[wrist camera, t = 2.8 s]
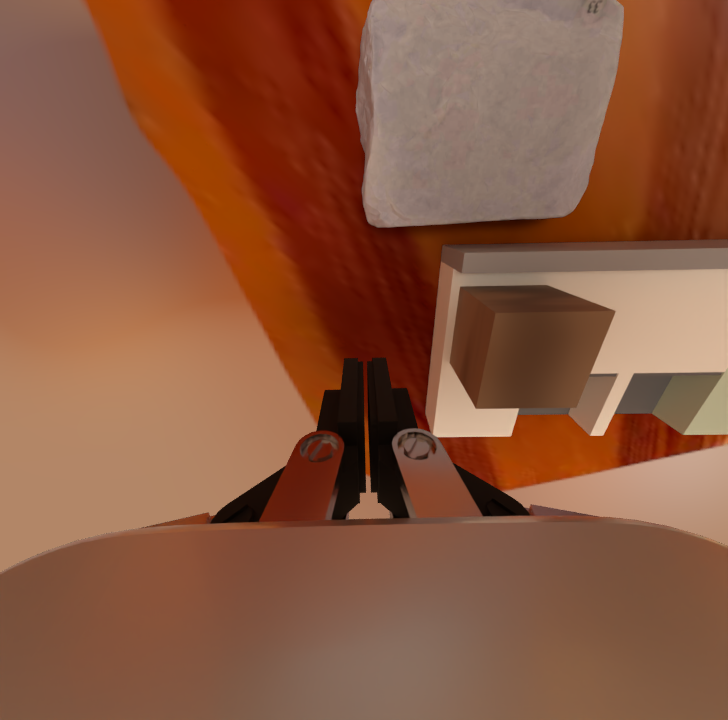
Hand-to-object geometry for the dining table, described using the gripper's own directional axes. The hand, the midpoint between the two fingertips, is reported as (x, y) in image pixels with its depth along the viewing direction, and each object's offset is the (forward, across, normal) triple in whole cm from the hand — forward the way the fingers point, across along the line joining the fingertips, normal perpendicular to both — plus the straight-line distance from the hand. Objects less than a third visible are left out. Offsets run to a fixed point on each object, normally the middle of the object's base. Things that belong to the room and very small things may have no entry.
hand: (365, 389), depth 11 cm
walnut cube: (+7, -8, 0) cm, 11 cm away
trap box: (+9, -18, +2) cm, 21 cm away
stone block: (+10, -6, -11) cm, 16 cm away
